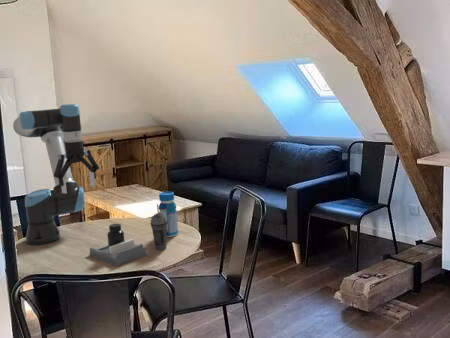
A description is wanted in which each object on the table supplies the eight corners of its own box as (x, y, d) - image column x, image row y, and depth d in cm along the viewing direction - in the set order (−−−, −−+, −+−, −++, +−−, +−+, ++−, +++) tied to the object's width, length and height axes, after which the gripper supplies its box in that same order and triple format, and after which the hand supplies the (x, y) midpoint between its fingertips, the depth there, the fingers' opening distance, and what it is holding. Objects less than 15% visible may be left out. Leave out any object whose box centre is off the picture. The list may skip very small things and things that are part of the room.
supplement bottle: (121, 255, 201) (118, 228, 199) (106, 255, 203) (103, 227, 200) (128, 249, 208) (125, 222, 205) (113, 249, 209) (110, 222, 207)
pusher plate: (110, 258, 199) (108, 246, 198) (133, 249, 207) (131, 239, 206) (111, 258, 198) (110, 247, 197) (134, 250, 206) (133, 239, 205)
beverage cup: (168, 244, 214) (165, 200, 210) (170, 250, 207) (166, 204, 203) (152, 246, 213) (148, 202, 209) (153, 252, 206) (149, 206, 202)
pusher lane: (89, 255, 207) (88, 243, 206) (119, 244, 217) (118, 234, 216) (116, 266, 193) (115, 254, 192) (146, 254, 203) (145, 243, 202)
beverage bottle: (177, 237, 223) (174, 195, 219) (159, 238, 223) (155, 195, 219) (179, 231, 231) (176, 190, 227) (162, 232, 232) (158, 191, 228)
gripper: (49, 145, 194) (56, 197, 199) (103, 137, 212) (108, 184, 216) (41, 144, 199) (47, 194, 204) (94, 136, 217) (99, 182, 221)
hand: (79, 189), depth 210 cm, fingers open, 13 cm apart
